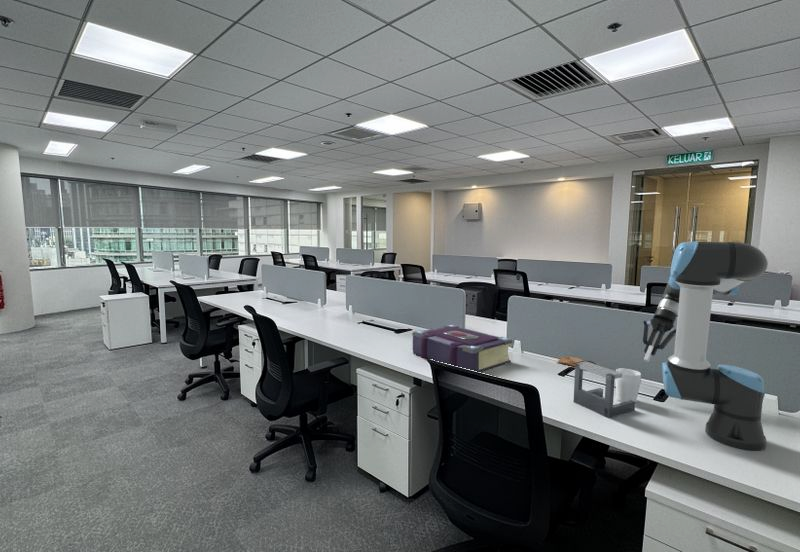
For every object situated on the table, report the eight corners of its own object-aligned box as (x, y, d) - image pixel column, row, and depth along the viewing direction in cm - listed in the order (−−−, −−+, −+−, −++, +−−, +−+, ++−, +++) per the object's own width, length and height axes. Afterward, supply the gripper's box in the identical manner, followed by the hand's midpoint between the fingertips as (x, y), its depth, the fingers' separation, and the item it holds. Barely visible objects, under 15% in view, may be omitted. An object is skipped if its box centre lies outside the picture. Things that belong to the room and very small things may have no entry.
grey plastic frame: (599, 395, 161) (601, 358, 159) (635, 410, 147) (637, 370, 145) (573, 401, 155) (575, 363, 153) (608, 418, 141) (611, 375, 139)
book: (470, 376, 183) (471, 347, 182) (409, 354, 218) (409, 330, 217) (512, 362, 204) (513, 337, 203) (450, 344, 239) (450, 322, 238)
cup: (613, 402, 154) (615, 373, 153) (613, 394, 162) (615, 366, 161) (640, 407, 150) (642, 377, 149) (638, 398, 158) (640, 370, 157)
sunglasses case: (554, 362, 204) (558, 350, 205) (560, 366, 208) (563, 355, 210) (588, 372, 190) (592, 359, 191) (593, 376, 194) (597, 364, 196)
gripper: (685, 320, 162) (665, 370, 157) (650, 311, 171) (630, 358, 166) (684, 312, 157) (663, 363, 152) (648, 304, 166) (627, 351, 161)
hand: (646, 360), depth 159 cm, fingers closed
